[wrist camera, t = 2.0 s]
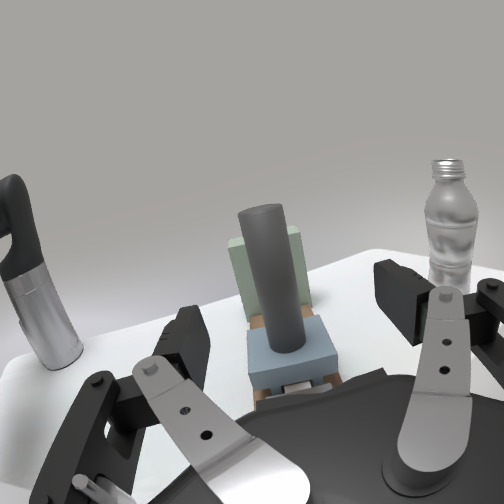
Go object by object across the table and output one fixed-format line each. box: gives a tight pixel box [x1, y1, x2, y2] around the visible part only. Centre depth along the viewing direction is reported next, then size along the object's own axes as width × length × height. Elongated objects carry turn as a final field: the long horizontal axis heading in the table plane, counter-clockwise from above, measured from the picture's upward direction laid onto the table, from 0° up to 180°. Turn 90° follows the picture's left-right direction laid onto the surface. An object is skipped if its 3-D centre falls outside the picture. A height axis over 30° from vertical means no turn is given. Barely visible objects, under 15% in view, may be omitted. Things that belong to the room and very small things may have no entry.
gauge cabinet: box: [228, 225, 312, 322], centre depth 41 cm, size 10×5×12 cm, turn 92°
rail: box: [250, 304, 342, 411], centre depth 31 cm, size 9×20×3 cm, turn 2°
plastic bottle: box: [424, 159, 478, 295], centre depth 25 cm, size 6×7×20 cm
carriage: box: [238, 204, 338, 396], centre depth 24 cm, size 8×7×17 cm
